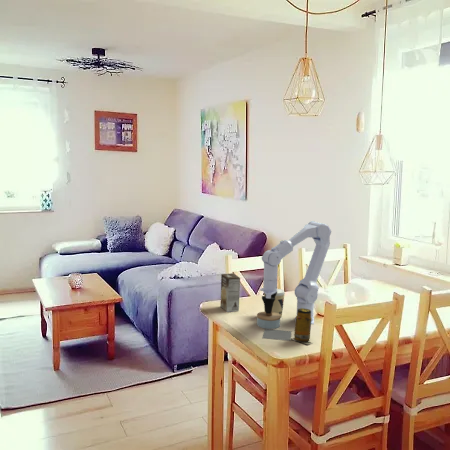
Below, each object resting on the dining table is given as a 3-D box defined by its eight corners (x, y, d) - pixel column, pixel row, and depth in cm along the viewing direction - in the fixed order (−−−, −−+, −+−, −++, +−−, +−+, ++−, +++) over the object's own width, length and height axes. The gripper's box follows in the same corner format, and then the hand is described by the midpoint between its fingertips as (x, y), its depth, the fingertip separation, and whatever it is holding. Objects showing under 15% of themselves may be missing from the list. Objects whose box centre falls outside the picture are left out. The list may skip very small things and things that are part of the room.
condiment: (299, 336, 193) (302, 306, 192) (317, 341, 187) (320, 311, 186) (289, 339, 187) (291, 309, 186) (307, 345, 182) (310, 314, 181)
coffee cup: (282, 320, 211) (283, 294, 210) (261, 318, 213) (262, 292, 211) (284, 314, 220) (285, 288, 219) (264, 312, 222) (265, 287, 220)
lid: (259, 312, 209) (259, 301, 209) (281, 314, 207) (282, 303, 207) (255, 319, 200) (255, 308, 199) (278, 321, 198) (279, 310, 197)
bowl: (258, 321, 209) (258, 312, 209) (280, 323, 208) (280, 314, 207) (255, 328, 200) (256, 319, 200) (278, 330, 198) (279, 321, 198)
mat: (264, 329, 199) (264, 328, 199) (291, 332, 197) (291, 331, 197) (262, 339, 188) (262, 338, 188) (290, 341, 186) (290, 340, 186)
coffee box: (219, 306, 229) (220, 273, 227) (232, 305, 231) (233, 273, 229) (226, 312, 221) (228, 278, 219) (239, 311, 223) (240, 277, 221)
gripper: (262, 274, 209) (261, 304, 211) (259, 282, 195) (257, 314, 197) (278, 275, 208) (277, 306, 210) (276, 283, 194) (274, 316, 196)
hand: (269, 310), depth 203 cm, fingers open, 7 cm apart
